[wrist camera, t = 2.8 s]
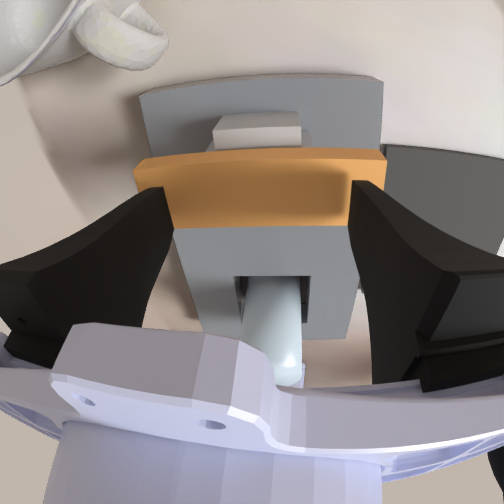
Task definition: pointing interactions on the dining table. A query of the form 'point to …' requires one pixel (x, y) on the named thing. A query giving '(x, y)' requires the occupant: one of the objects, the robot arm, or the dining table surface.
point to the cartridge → (275, 324)
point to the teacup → (76, 35)
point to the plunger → (261, 185)
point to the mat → (450, 191)
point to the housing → (255, 137)
